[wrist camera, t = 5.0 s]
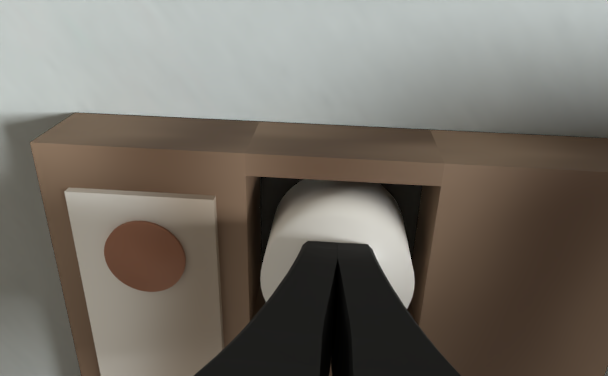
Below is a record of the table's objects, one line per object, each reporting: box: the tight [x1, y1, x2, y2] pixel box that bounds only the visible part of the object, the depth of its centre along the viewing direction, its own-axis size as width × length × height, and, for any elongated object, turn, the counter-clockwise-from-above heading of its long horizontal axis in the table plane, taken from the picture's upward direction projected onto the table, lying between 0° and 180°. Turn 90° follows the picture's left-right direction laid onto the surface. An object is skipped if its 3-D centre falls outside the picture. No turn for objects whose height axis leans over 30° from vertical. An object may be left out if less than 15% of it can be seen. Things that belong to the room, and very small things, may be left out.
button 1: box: [260, 179, 415, 309], centre depth 12 cm, size 3×3×2 cm
